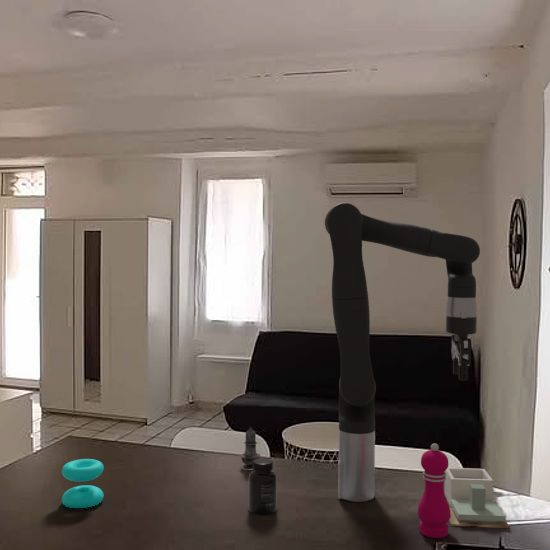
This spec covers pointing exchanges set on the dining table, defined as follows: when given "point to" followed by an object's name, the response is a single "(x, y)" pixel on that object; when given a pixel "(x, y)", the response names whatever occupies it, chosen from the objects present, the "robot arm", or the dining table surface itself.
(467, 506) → the lid
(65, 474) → the donuts
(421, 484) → the dining table surface
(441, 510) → the pepper mill
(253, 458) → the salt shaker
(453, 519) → the cork mat
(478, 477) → the storage box
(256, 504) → the supplement bottle
